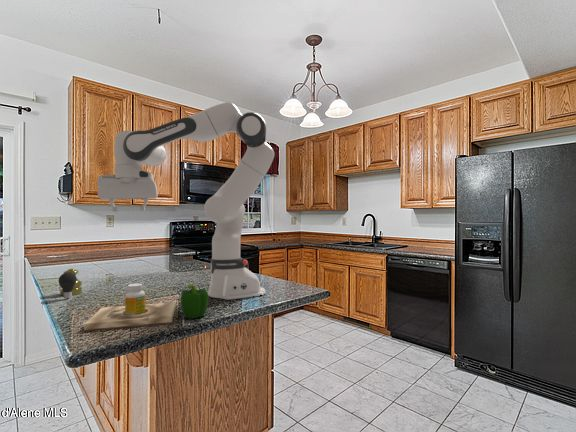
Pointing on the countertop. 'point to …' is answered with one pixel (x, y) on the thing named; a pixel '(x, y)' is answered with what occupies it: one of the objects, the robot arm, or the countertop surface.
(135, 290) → the supplement bottle
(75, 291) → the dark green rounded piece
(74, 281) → the light bulb
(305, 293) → the countertop surface
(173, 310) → the socket board
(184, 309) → the bell pepper
